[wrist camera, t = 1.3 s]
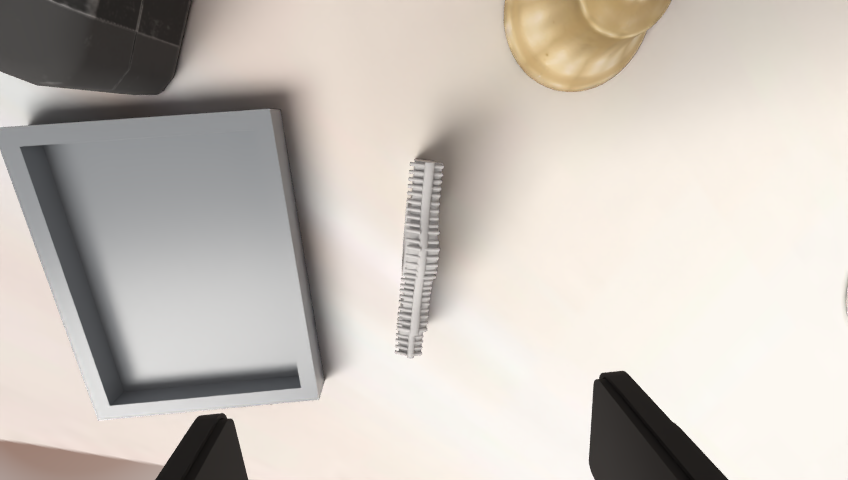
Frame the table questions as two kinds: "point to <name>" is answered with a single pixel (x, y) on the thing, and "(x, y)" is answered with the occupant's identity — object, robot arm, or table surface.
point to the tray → (172, 258)
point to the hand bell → (577, 38)
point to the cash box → (93, 43)
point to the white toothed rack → (419, 255)
